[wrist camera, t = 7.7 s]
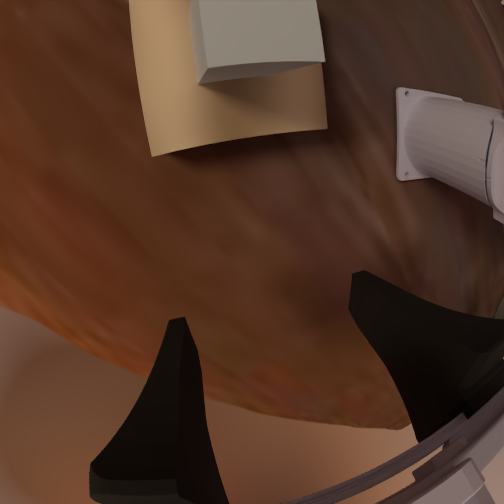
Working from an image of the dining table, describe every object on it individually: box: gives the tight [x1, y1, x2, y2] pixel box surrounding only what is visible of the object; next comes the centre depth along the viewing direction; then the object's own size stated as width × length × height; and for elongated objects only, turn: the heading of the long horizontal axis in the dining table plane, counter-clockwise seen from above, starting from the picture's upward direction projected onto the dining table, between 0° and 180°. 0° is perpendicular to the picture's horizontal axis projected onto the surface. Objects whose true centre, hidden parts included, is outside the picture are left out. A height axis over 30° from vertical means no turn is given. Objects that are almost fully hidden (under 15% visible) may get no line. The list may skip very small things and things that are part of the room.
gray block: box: [189, 0, 325, 84], centre depth 9 cm, size 4×4×6 cm
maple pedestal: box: [129, 0, 328, 157], centre depth 13 cm, size 10×10×3 cm
